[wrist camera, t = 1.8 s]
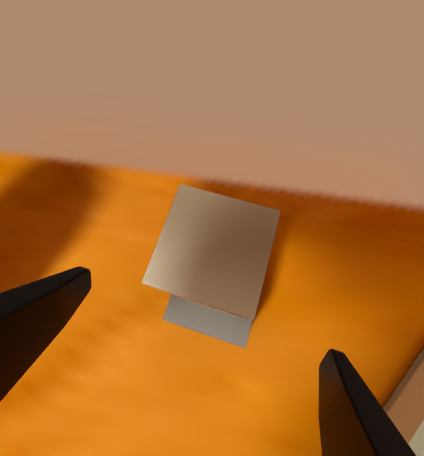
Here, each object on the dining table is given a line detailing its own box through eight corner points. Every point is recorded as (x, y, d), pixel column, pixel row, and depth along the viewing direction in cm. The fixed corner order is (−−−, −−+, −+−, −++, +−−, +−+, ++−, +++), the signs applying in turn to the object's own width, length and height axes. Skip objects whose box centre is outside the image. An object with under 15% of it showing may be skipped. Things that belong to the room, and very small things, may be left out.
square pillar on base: (241, 341, 17) (281, 403, 6) (173, 318, 18) (81, 330, 6) (261, 259, 19) (326, 174, 7) (199, 240, 20) (166, 135, 8)
